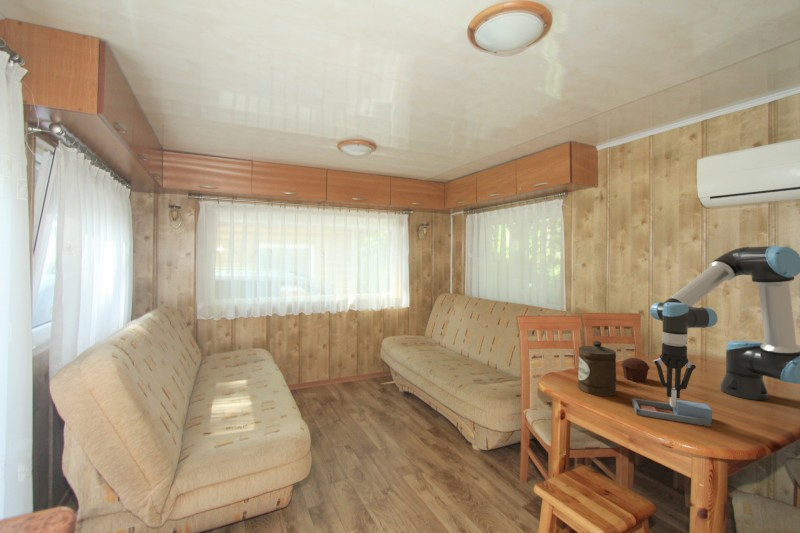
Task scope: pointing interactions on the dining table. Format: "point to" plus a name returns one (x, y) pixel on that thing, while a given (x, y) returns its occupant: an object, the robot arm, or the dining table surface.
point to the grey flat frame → (650, 411)
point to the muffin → (635, 369)
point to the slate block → (693, 409)
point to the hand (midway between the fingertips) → (672, 405)
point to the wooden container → (597, 370)
